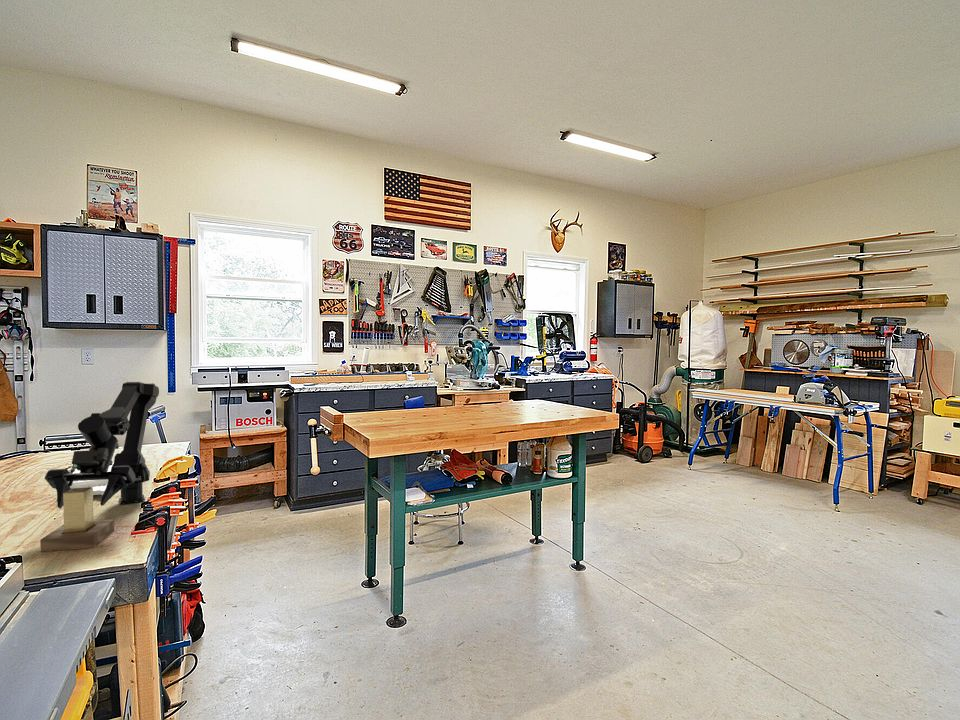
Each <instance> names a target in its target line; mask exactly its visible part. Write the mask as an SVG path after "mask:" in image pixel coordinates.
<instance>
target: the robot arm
mask: <svg viewBox="0 0 960 720" xmlns="http://www.w3.org/2000/svg"><path fill="white" fill-rule="evenodd" d="M159 395H160V388H159V386H157V385H156V384H155V383H153V382H152V383H144V382H141V381H125V382H123V383H122V386H121V390H120V392H119V394H118V395H117V397H116V398H115V400H114V402H113V403H112V405H111V407H110V408H109V409H107V410H104V411H102V412H101V413H100V412H95V413H93V412H92V413H91V414H90V416H87V417H86V418H84V419H82V420H81V421H80V422H78V425H77V429H78V430H79V432H80V434H81V435H82V437H83V439H84V440H85V442H86V443H87V444H89V449H88V450H75V451H73V454H72V460H71V464H72V465H73V464H75V465H77V467H76V469H77V470H80V473H71V471H70V470H68V468H54V469H52V468H51V469H49V470H48V471H47V472H46V474H45V476H44V480H45V481H46V482H47V484H48V485H50V487H51V488H52V489H55V490H56V498H57V499H56V501H57V508H58V509H62V508H63V507H64V504H63V493H65V492H67V491H69V490H71V488H70V486H72V484H73V481H84V480H107V479H108V484H107V486H106V489H105V491H104V494H103V495H101V500H100V506H104V505H105V504H107V502H108V501H110V500H111V499H112V498H113V497H114V495H116V494H117V493H118V492H119V491H120V498H118V501H119V505H120V506H121V505H122V506H123V505H128V504H132V503H133V504H134V503H140V502H145V501H146V498H145V494H143V493H144V490H143V488H144V487H143V484H144V483H146V482H149V481H150V477H151V475H150V474H151V473H150V470H149V468H148V467H147V465H146V459H145V457H144V456H143V453H142V448H143V442H144V437H145V430H146V426H147V420H148V414H149V411H150V409H151V408H152V407H153V406H155V404H156V401H157V399H158V397H159ZM128 417H129V419H128ZM125 434H126V436H125V440H124V445H123V449H122V451H121V452H119V453H116V454H115V451H116V450H117V449H119V448H120V446H119V440H118V438H117V437H116V436H124V435H125ZM114 454H115V455H114ZM113 457H114V460H112V459H113ZM113 462H114V463H113ZM112 464H113V466H112V467H111V472H107V471H108V468H109V466H111V465H112Z"/></svg>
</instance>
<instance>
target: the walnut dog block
mask: <svg viewBox="0 0 960 720" xmlns="http://www.w3.org/2000/svg"><path fill="white" fill-rule="evenodd" d="M113 532H115V519H106V520H105V519H103V520H94V527H93V528H92V529H90V530H89V531H88V532H83V533H70V534H64V524H62V525H60V526H59V527H58V528H56V529H55V530H53V531H51V532H50V533H49V534H47V535H45V536H44V537H42V538H41V539H40V541H39V543H40V546H39V547H40V552H41V551H46V552H51V551H50V550H57V551H65V550H64V549H68V550H76V549H77V550H79V549H89V548H95V547H96V546H97V545H99V543H101V542H102V541H103V540H105V539H106V538H108V536H110V535H111V534H112V533H113Z"/></svg>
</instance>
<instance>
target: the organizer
mask: <svg viewBox="0 0 960 720" xmlns="http://www.w3.org/2000/svg"><path fill="white" fill-rule="evenodd" d="M113 463H114V461H113ZM112 466H113V464H112V465H111V466H109V468H108V471H107V472H111V467H112ZM73 473H80V470H77V469H76V470H75V471H74V472H73ZM107 484H108V479H107V480H84V481H73V484H72V486H70V488H71V489H73V488H89V487H93V496H96V495H97V496H99V495H101V496H103V494H104V491H105V489H106V486H107Z"/></svg>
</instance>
